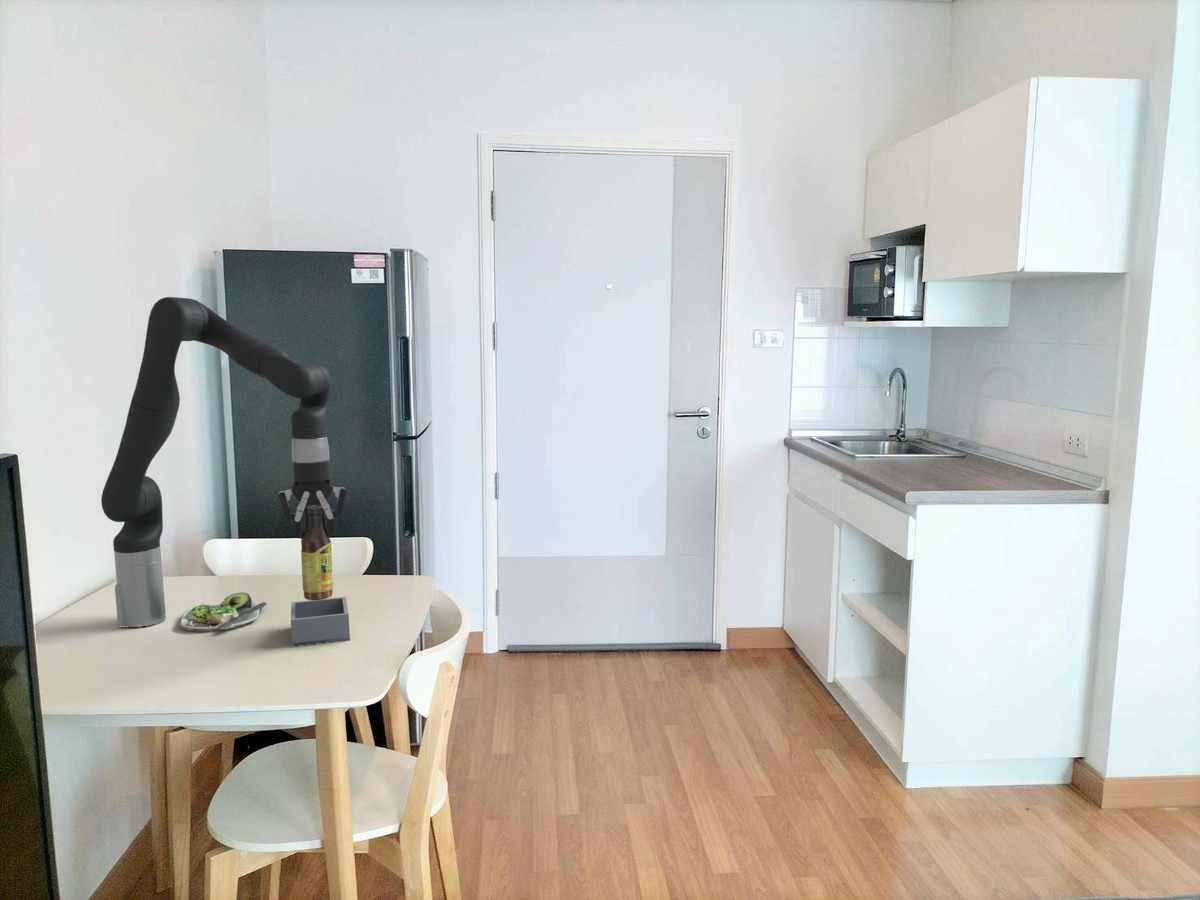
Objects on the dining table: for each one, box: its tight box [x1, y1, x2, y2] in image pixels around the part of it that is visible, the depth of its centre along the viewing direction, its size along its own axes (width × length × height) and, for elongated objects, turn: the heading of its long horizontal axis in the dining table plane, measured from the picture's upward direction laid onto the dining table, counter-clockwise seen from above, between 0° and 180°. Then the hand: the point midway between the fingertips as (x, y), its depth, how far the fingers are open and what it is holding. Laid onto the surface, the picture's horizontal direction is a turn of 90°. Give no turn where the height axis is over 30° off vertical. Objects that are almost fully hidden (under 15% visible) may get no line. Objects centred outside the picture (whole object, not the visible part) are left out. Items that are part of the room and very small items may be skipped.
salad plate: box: [179, 592, 267, 633], centre depth 196 cm, size 19×18×5 cm
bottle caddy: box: [290, 596, 351, 647], centre depth 187 cm, size 12×13×6 cm
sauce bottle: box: [300, 505, 334, 601], centre depth 185 cm, size 6×6×20 cm
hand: (314, 536), depth 185 cm, fingers closed on sauce bottle, 5 cm apart
